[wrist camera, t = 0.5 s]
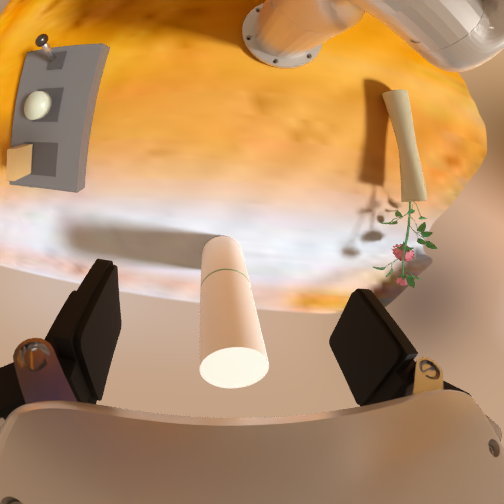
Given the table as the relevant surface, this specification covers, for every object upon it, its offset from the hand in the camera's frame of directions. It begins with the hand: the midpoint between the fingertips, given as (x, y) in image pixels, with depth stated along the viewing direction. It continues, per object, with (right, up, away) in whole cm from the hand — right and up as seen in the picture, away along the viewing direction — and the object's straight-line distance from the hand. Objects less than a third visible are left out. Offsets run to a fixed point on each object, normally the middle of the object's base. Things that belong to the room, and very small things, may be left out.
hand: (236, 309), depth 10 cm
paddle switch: (-36, +18, +21) cm, 46 cm away
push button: (-31, +24, +16) cm, 42 cm away
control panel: (-32, +25, +22) cm, 46 cm away
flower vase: (+27, +16, +36) cm, 48 cm away
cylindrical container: (-5, +2, +38) cm, 38 cm away
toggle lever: (-29, +31, +14) cm, 45 cm away
